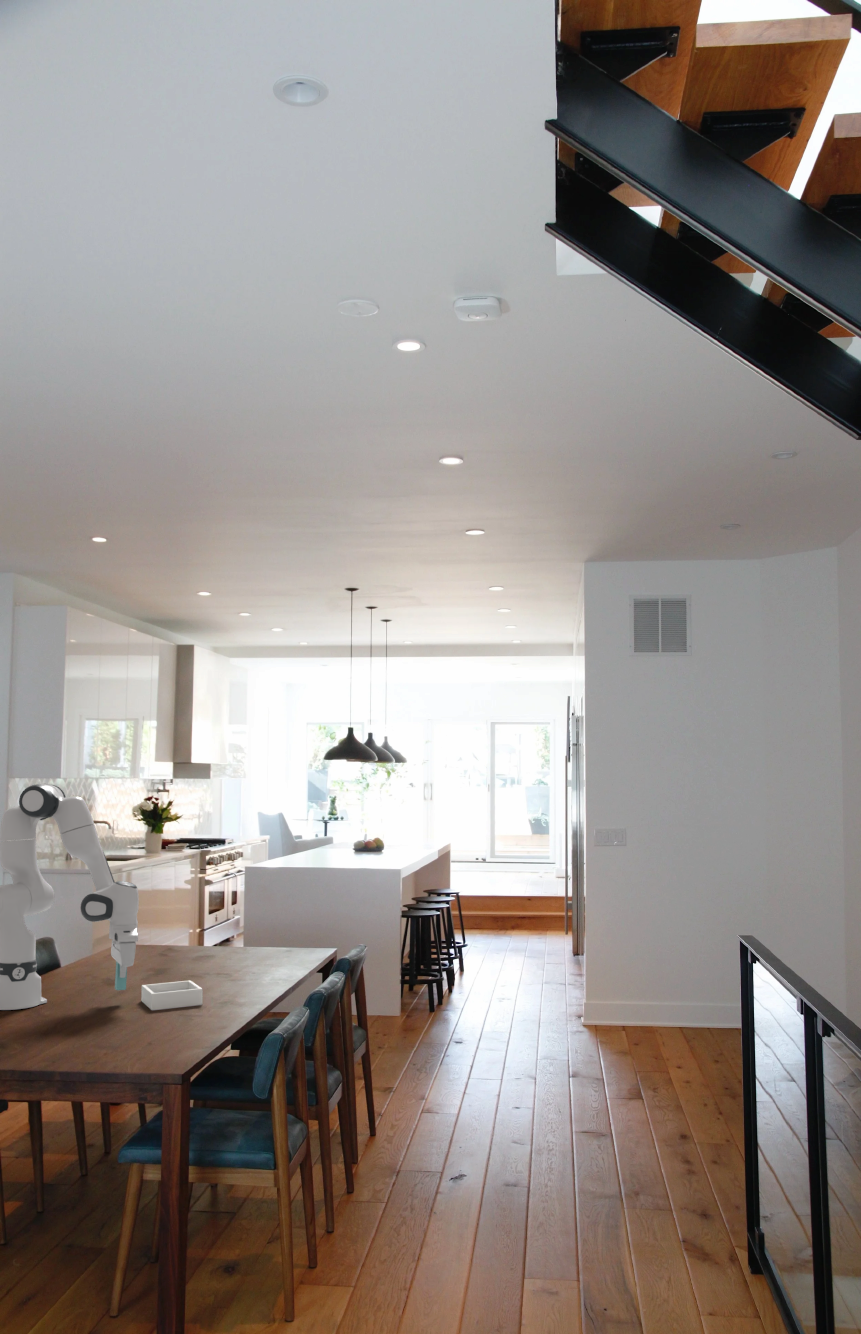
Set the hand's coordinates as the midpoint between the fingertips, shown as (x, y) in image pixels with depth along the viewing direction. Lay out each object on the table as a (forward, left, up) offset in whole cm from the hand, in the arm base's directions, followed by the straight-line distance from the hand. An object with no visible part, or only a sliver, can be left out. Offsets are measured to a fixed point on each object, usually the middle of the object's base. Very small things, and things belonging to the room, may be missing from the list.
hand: (120, 976), depth 335 cm
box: (+8, +15, -9) cm, 19 cm away
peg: (0, 0, -4) cm, 4 cm away
